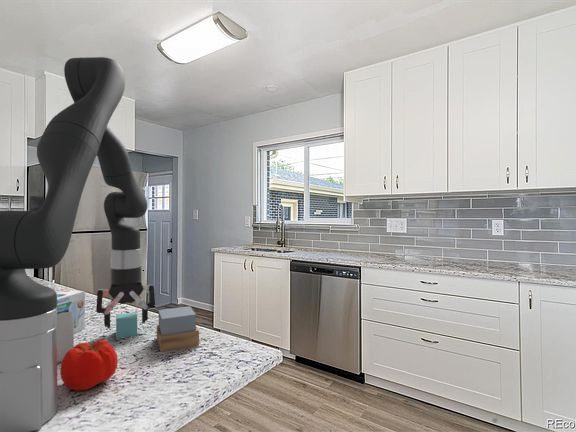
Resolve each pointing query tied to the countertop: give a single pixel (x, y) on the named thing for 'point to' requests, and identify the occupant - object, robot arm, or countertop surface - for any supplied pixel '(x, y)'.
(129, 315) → the teal cube
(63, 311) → the light bulb box
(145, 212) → the robot arm
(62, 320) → the white cardboard box
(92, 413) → the countertop surface
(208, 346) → the countertop surface
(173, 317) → the top block
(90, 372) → the tomato
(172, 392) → the countertop surface
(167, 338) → the base block
